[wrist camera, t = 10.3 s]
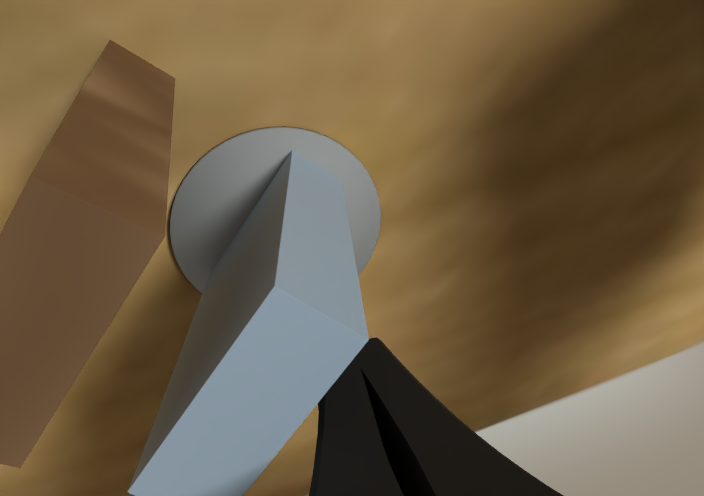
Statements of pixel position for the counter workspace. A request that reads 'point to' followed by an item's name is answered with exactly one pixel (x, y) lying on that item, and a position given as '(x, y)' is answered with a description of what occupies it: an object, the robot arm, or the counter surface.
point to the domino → (80, 238)
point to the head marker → (260, 194)
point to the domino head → (259, 341)
